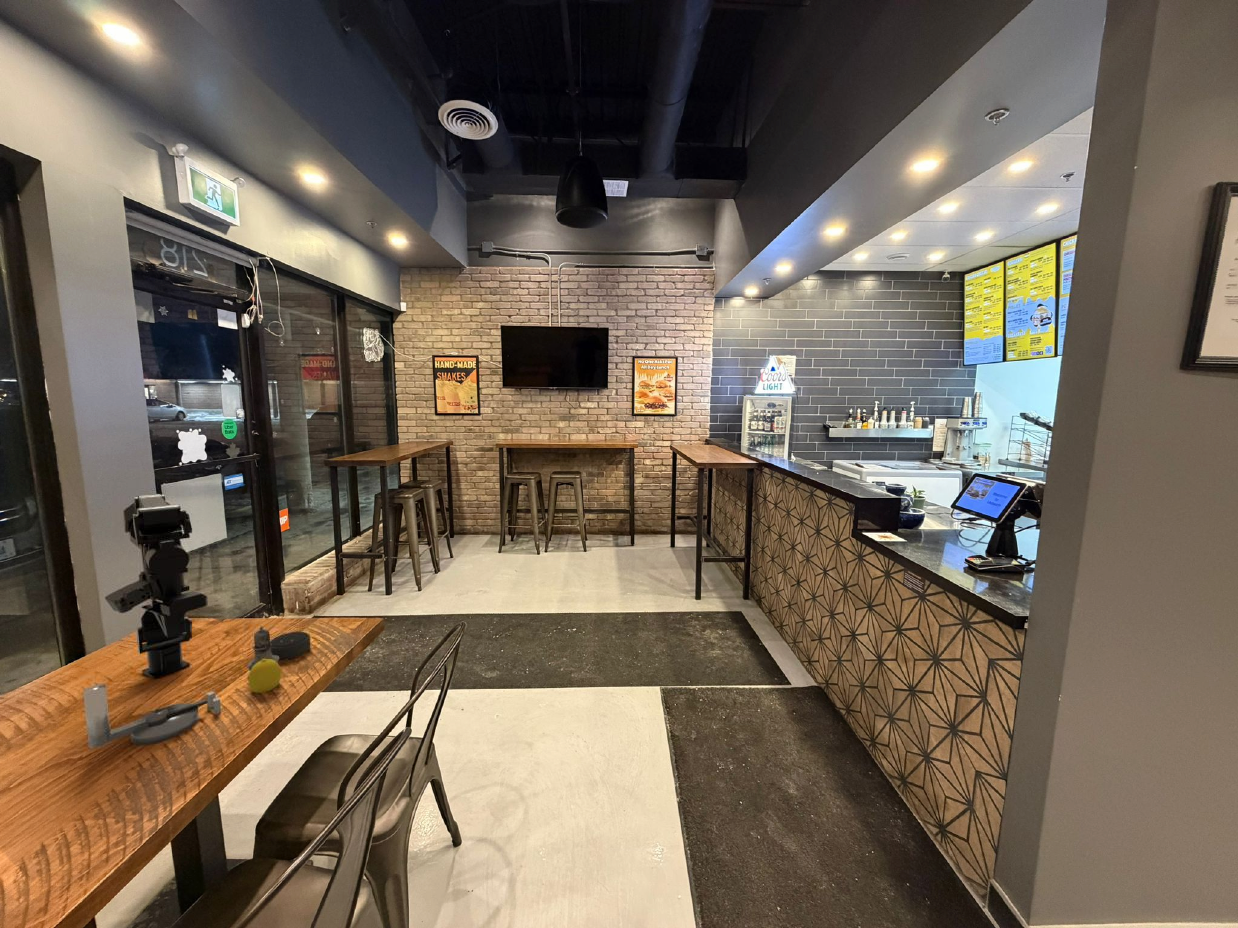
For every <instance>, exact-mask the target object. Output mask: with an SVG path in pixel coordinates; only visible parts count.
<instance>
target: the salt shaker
mask: <svg viewBox="0 0 1238 928" xmlns="http://www.w3.org/2000/svg"><path fill="white" fill-rule="evenodd" d="M259 629H260V630H257V631H256V632H255V633H254V635H253V638H254V639H253V641H254V642H253V644H254V646H253V647H252V650H253V651H254V658H253V660H251V661H249V663H247V668H248V669H249V672H250V671H251V669H252V667H253V666H254V665H255V664H256V663H258V662H259V661H261V660H262V659H272V660H274V661H276V662H277V663H278V664H279V661H278V660H279V656H277V655H272V653H271V645H272V643H271V642H270V641H271V636H270V633H271V632H270V631H269V629H264V627H263V626H260V627H259Z"/></svg>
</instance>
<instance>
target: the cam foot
mask: <svg viewBox="0 0 1238 928" xmlns="http://www.w3.org/2000/svg"><path fill="white" fill-rule="evenodd" d="M83 700H84V701H83V702H84V710H85V711H84V712H85V720H86V729H87V730H86V731H87V737H88V738H87V739H88V748H89V749H97V748H100V747H103V746H105V745H107V744H109V743H110V742H113V741H115V740H116V741H117V740H118V739H121V738H124V737H126V736H129V735H130V741H131V743H132V744H133V745H137V746H145V745H146V746H148V745H154V744H157V743H162V742H165V741H167V740H170V739H172V738H175V737H178V736H179V735H181V734H183V733H186V732H187V731H188V730H190V729H191V728H192V727H194V726H195V725H196V724H197V723H198V721H199V718H200V715H199V707H203V706H204V705H207V698H205V699H203V700H200V701H197V702H195V703H190V702H186V703H184V702H183V703H176V704H170V705H168V706H164V707H162V708H158V709H155V710H151V711H150V712H148V713H147V714H145V715H144V716H142V717H140V718H139V719H137V720H135V721H133V722H130V723H127V724H124V725H122V726H120V727H119V726H118V727H115V728H114V729H111V726H110V724H111V723H110V717H109V716H110V715H109V706H108V705H109V704H108V695H107V686H106V684H105V683H102V684H101V683H100V684H95V685H92V686H89V687H87V688H85V689H84V690H83Z"/></svg>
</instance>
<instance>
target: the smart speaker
mask: <svg viewBox="0 0 1238 928" xmlns="http://www.w3.org/2000/svg"><path fill="white" fill-rule="evenodd" d="M270 642H271V643H272V645H271V653H272V655H277V656H279V660H278V662H279V661H280V660H281V661H287V660H286V659H288V660H291V659H295V658H298V657H301V656H302V655H304V654H305V653H306V652H307V653H308V651H309V650H310V648H311V644H312V643H311V636H310V634H309V633H308V632H304V631H292V632H288V633H283V634H281V635H278V636H276V637H274V638H272V639H270ZM297 656H298V657H297ZM281 661H280V662H281Z"/></svg>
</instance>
